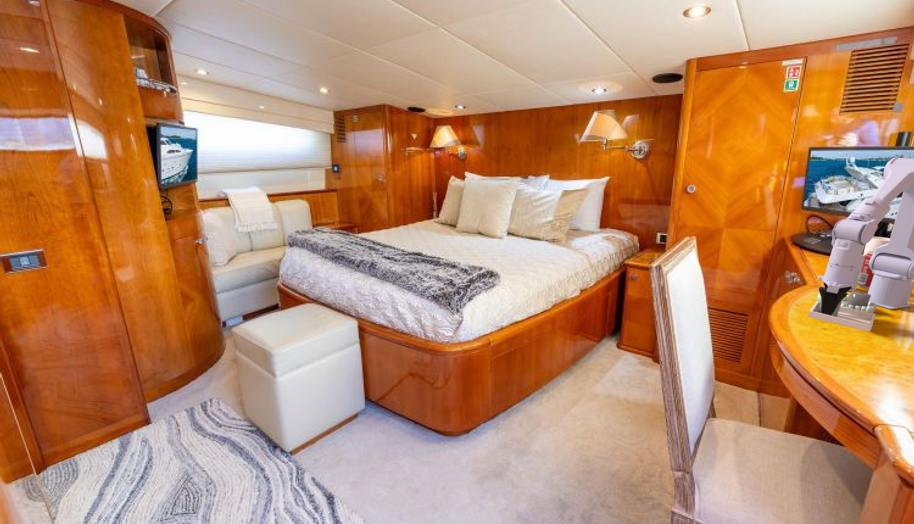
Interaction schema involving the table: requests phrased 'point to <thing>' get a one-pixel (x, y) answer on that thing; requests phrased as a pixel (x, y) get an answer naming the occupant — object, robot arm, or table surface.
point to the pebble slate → (834, 311)
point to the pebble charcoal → (858, 299)
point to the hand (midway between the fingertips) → (828, 311)
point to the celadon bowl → (869, 308)
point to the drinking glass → (875, 244)
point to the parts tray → (846, 317)
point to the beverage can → (866, 273)
